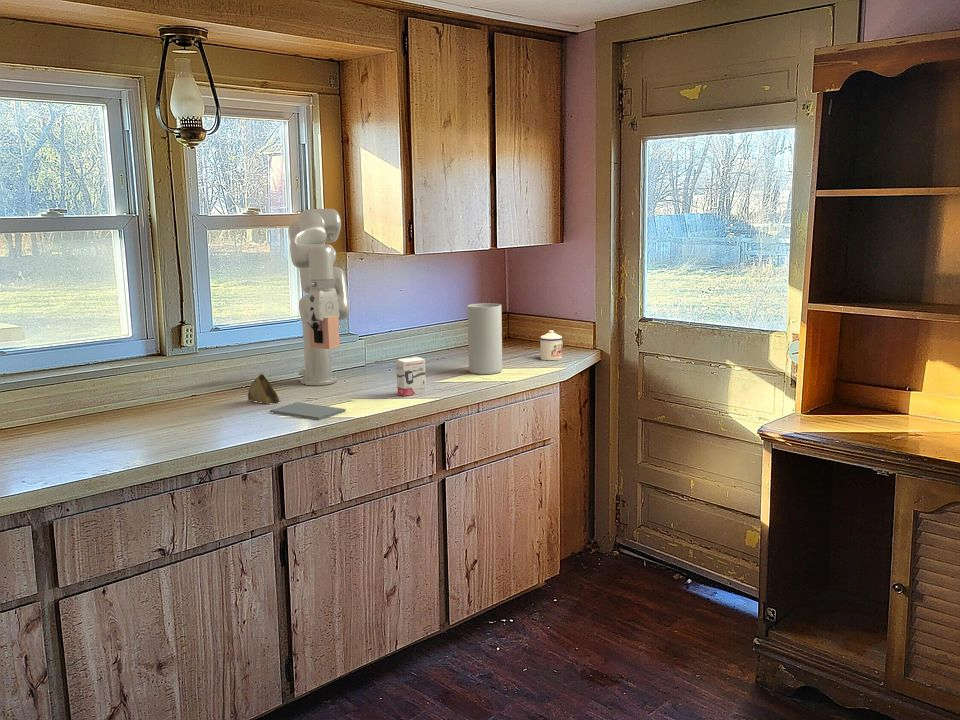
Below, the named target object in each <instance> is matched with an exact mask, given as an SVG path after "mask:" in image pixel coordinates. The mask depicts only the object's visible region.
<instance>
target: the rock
mask: <svg viewBox="0 0 960 720" xmlns="http://www.w3.org/2000/svg"><path fill="white" fill-rule="evenodd" d="M247 400H248V401H249V400H250V402H253V401H257V402H256V403H258V402H262V403H261V404H264V403H267V405H271V404H270V403H275V404H279V403H278V402H281V400H280V397H279V396H278V394H277V392H276V390H274V388H273V386H272V385H271V382H270V381H268V379H267V378H266V376H265V375H264V374H263V373H260V374H259V375H258V376H257V377H256V378H255V379H254V380H253V382H252V383H251V384H250V386H249V389H248V392H247Z"/></svg>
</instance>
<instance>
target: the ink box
mask: <svg viewBox="0 0 960 720" xmlns="http://www.w3.org/2000/svg"><path fill="white" fill-rule="evenodd" d="M395 362H396V382H397V383H396V386H397V395H399V394H400V395H399V396H402V395H403V396H402V397H407V396H406V395H410V396H414V395H413V394H417V395H421V394H420V393H424V394H427V388H426V387H427V384H426V383H427V382H426V359H425V358H421V357H420V356H413V357H407V358H406V357H405V358H399V359H396V361H395Z"/></svg>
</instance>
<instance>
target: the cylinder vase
mask: <svg viewBox="0 0 960 720" xmlns="http://www.w3.org/2000/svg"><path fill="white" fill-rule="evenodd" d="M502 316H503V315H502V304H500V303H490V302H489V303H488V302H487V303H471V304H468V305H467V338H468V342H467V343H468V344H467V345H468V372H470V373H471V374H474V373H476V374H475V375H494V373H496V374H499V373H501V372H502V371H503V332H502V331H503V327H502V326H503V325H502V322H503V320H502Z"/></svg>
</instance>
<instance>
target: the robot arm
mask: <svg viewBox="0 0 960 720" xmlns="http://www.w3.org/2000/svg"><path fill="white" fill-rule="evenodd" d="M341 229H342V219H341V216H340V214H339V212H338V211H337V209H334V208H308V209H304V210H303V211H302V212H300V213H299V215H298V218H297V220H293V221H292V222H290V224H289V225H288V235H289V241H290V243H289V253H290V258H291V263H292V265H293V266H294V267H295V268H297V269H298V270H299V279H300V285H301V290H302V291H303V292H304V293H305V294H306V295H303V296H302V297H301V298H300V299H299V301H298V311H299V315H300V319H301V326H302V340H303V353H304V354H303V355H304V356H303V358H304V369H303V368H302V369H300V370H298V375H299V376H303V377H302V378H301V380H300V383H301V384H302V385H304V384H305V386H326V385H331V384H335V383H337V381H338V379H337V377H336V376H333V363H332V349H321V348H310V332H309V325H310V326H311V328H312V330H313V331H314V342H315V343H323V334H322V331H321V326H322V322H324V321H325V318H326V317H332V316H338V321H340V320H341V321H342V320H347V318H348V317H349V316H350V301H349V293H348V285H347V279H346V274H345V272H344V270H343V269H342V268H341V267H338V266H334V264H335V262H336V260H337V252H336V249H335V248H334V247H333V245H331V244H328V243H334V242H336V241H337V240H338V238H339V236H340V233H341ZM316 320H319V321H316ZM316 323H318V326H317V324H316Z"/></svg>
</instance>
